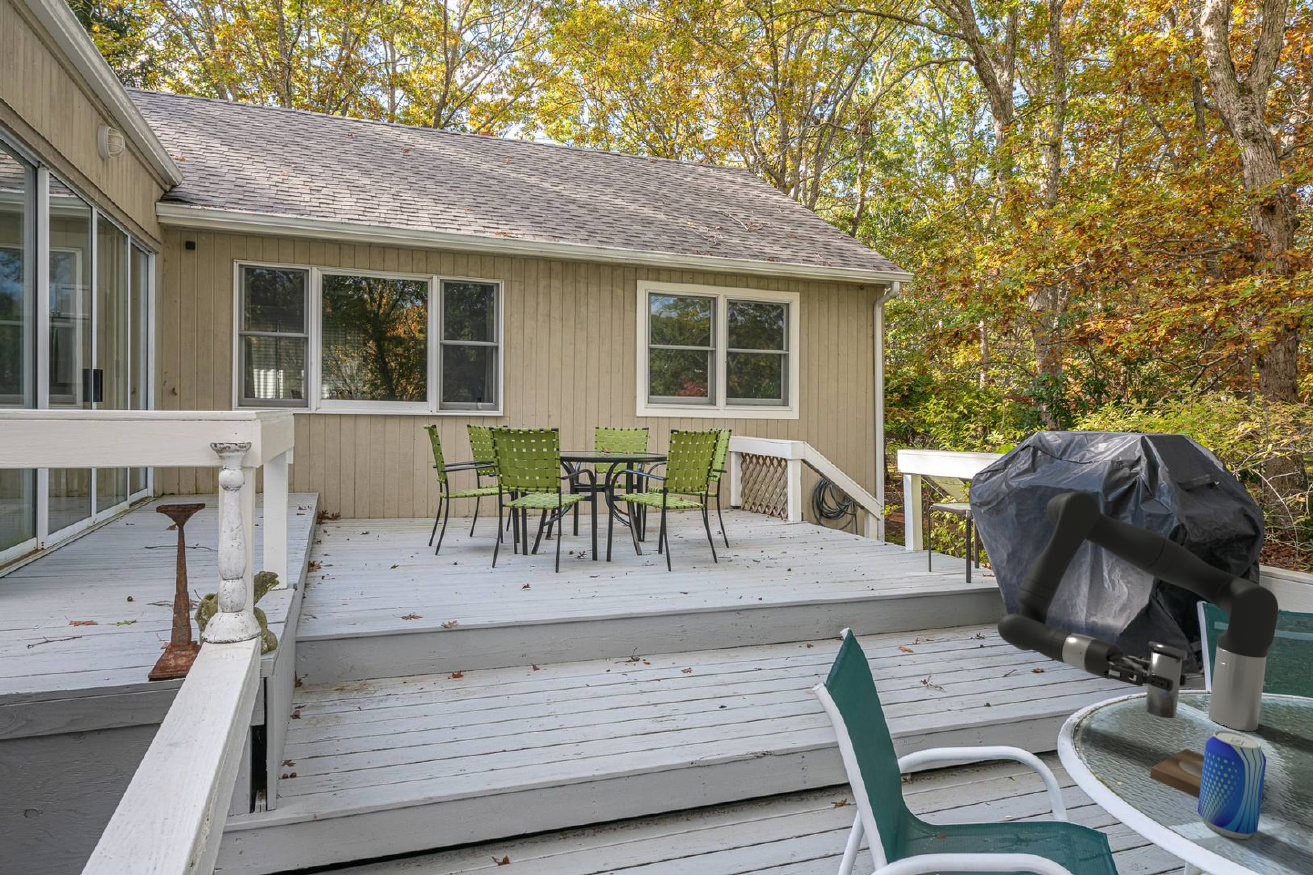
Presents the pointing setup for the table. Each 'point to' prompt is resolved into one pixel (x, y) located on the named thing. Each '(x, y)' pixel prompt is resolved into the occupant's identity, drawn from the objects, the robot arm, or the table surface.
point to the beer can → (1232, 784)
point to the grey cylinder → (1167, 666)
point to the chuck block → (1181, 771)
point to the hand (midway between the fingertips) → (1178, 683)
